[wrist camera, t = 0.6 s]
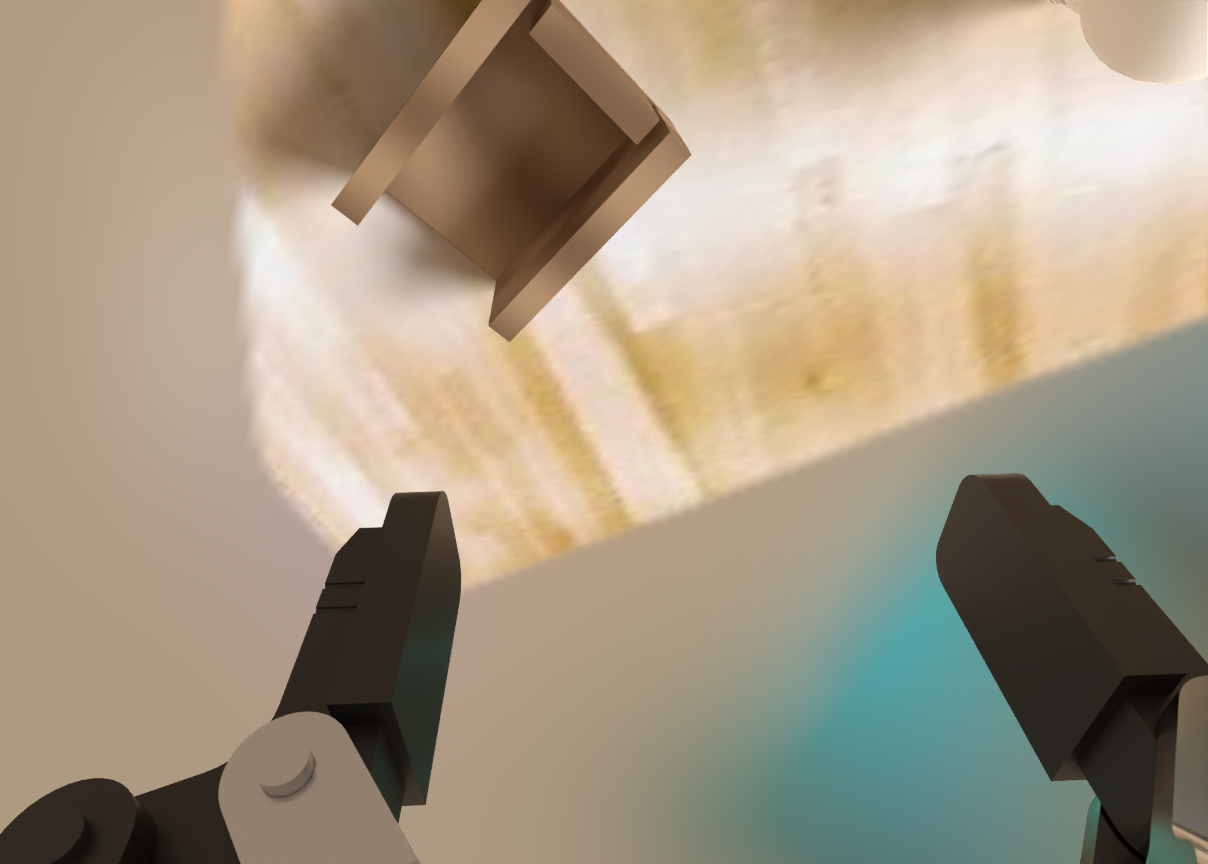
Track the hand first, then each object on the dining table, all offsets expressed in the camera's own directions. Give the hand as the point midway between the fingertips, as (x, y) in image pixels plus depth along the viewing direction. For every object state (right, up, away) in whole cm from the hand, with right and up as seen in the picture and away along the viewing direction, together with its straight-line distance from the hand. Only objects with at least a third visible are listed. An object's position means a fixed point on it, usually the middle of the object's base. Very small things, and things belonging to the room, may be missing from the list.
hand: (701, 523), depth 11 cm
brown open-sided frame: (-6, +15, +21) cm, 26 cm away
